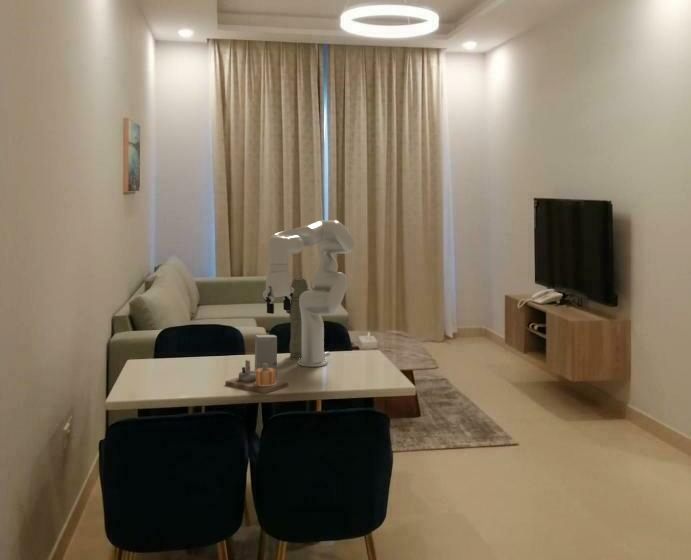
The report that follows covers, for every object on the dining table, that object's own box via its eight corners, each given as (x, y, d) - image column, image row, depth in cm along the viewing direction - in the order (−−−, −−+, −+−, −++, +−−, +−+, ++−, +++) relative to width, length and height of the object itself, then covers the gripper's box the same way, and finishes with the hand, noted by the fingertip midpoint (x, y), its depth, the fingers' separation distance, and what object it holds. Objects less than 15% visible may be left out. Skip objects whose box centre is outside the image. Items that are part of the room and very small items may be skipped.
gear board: (225, 384, 261) (225, 361, 260) (249, 377, 271) (249, 355, 270) (264, 393, 249) (264, 369, 248) (288, 386, 260) (287, 362, 259)
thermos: (315, 357, 307) (315, 279, 303) (290, 360, 302) (289, 280, 298) (309, 353, 315) (308, 277, 311) (284, 355, 310) (283, 278, 306)
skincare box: (256, 376, 273) (256, 337, 271) (254, 372, 280) (253, 334, 278) (278, 375, 275) (277, 336, 273) (275, 371, 282) (274, 333, 280)
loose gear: (264, 379, 262) (264, 366, 262) (279, 382, 258) (279, 369, 258) (251, 383, 257) (251, 370, 256) (266, 386, 252) (266, 373, 252)
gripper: (285, 266, 276) (286, 308, 278) (255, 269, 262) (256, 313, 264) (300, 267, 272) (300, 309, 274) (270, 270, 258) (271, 315, 260)
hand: (278, 311), depth 269 cm, fingers open, 9 cm apart
